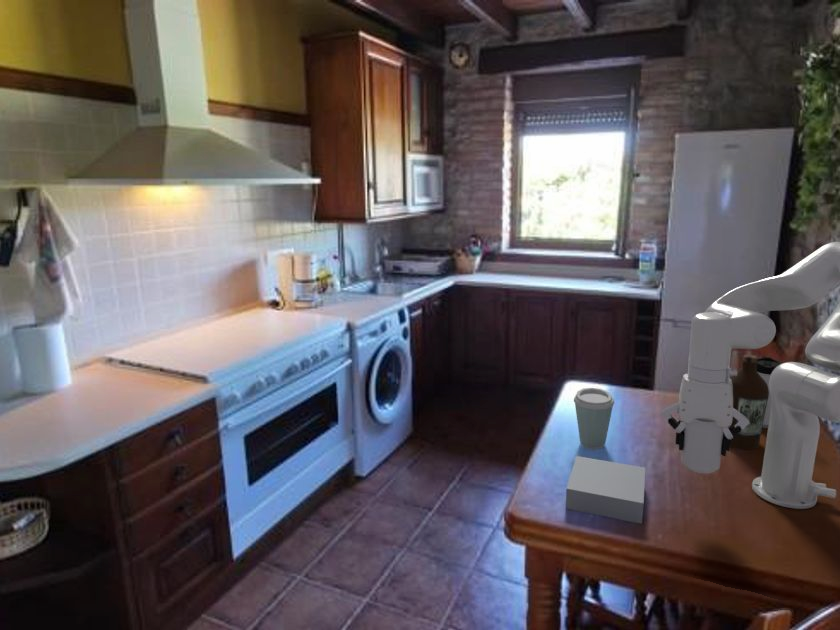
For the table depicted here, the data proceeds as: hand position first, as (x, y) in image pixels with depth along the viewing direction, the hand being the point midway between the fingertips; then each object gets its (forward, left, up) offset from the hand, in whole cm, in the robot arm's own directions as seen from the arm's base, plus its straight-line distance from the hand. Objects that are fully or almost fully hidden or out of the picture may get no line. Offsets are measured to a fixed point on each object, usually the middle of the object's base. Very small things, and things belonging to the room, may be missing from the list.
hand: (701, 449), depth 118 cm
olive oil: (-13, -42, -15) cm, 46 cm away
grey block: (+19, 0, -15) cm, 24 cm away
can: (0, 0, -4) cm, 4 cm away
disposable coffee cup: (+25, -26, -15) cm, 39 cm away
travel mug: (-20, -57, -15) cm, 62 cm away
